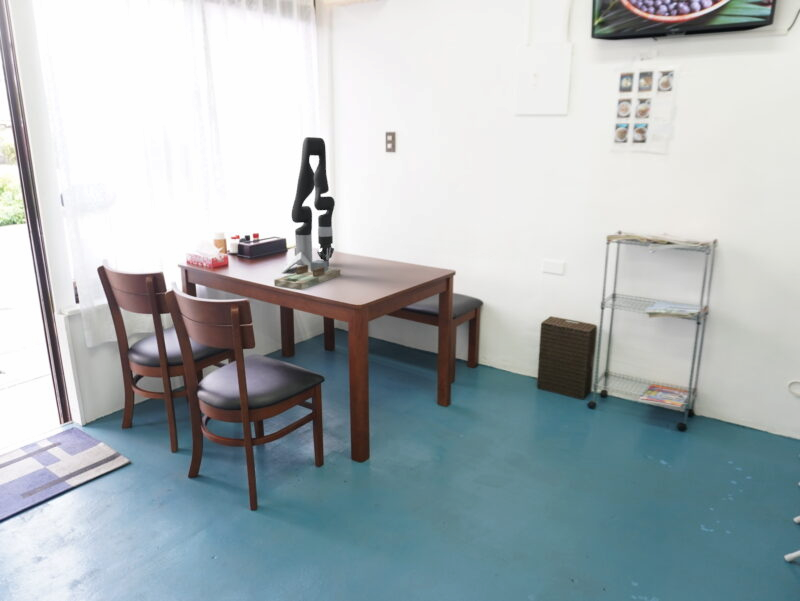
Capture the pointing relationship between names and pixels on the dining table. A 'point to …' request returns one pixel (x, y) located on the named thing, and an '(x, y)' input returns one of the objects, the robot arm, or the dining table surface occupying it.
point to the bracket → (295, 260)
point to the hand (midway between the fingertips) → (326, 266)
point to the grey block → (319, 265)
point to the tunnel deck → (306, 277)
